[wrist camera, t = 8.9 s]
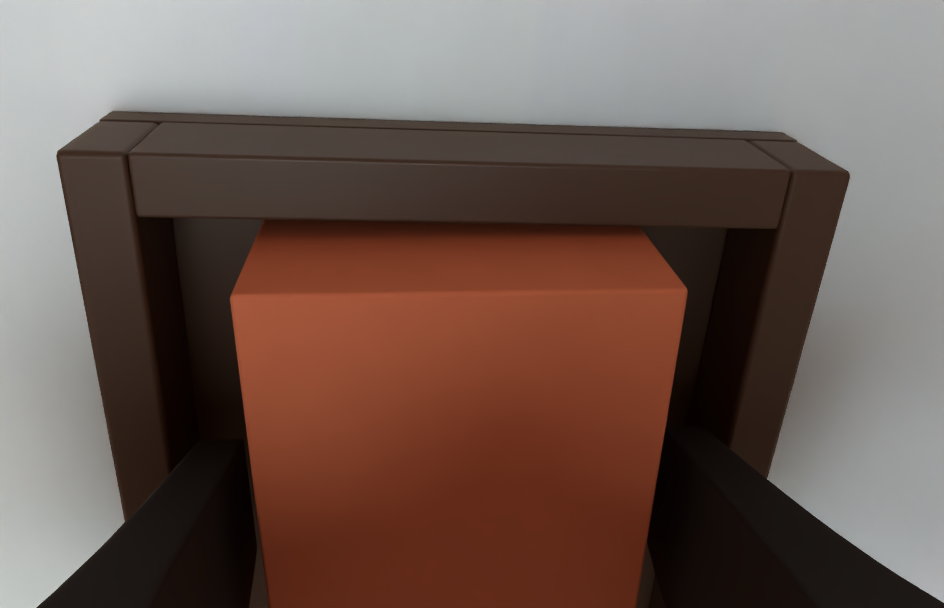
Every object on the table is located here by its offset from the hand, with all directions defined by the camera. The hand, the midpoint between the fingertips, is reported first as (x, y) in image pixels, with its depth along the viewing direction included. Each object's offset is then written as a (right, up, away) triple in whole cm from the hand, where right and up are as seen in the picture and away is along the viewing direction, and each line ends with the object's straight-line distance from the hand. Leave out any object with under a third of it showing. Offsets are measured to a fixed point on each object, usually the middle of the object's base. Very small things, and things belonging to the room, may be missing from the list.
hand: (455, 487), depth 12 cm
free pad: (0, +1, +1) cm, 1 cm away
